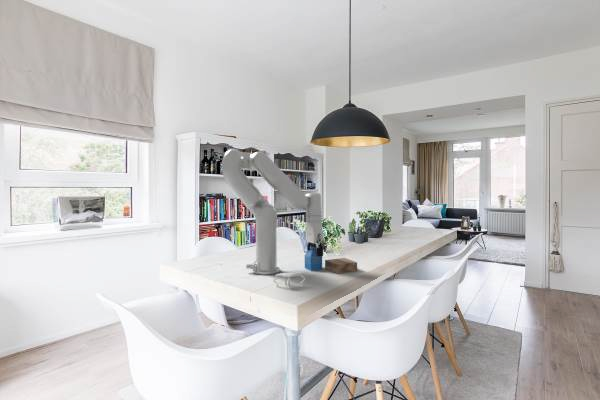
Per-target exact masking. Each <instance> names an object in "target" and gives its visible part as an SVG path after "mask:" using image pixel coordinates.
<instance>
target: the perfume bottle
mask: <svg viewBox="0 0 600 400" xmlns="http://www.w3.org/2000/svg"><path fill="white" fill-rule="evenodd" d="M305 268H306V269H305ZM304 269H305V270H307V271H310V272H313V271H321V270H323V256H319V257H318V256H317V245H316V243H315V244H313V243H312V244H310V250H309V251H306V253H305V254H304Z"/></svg>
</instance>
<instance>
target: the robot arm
mask: <svg viewBox="0 0 600 400" xmlns="http://www.w3.org/2000/svg"><path fill="white" fill-rule="evenodd" d="M243 170H244V171H256V172H257V173H258V174H259V175H260V176H261V177H262V178H263V180H264V181H265V182H267V184H268V185H269V186H270V187H271V188H272V189H274V190H276V191H277V192H279V193H280V194H281V195H282V196H283V197H284V198H285V199H286V200H287V201H288V202H287V203H288V204H289V206H290V207H291V208H293V209H295V210H299V211H302V210H305V221H306V222H305V241H306V245H307V246H306V248H307V251H309V250H310V244H312V243H313V244H316V246H317V249H316V250H317V256H318V257H319V256H322V257H323V256H324V246H325V238H324V235H323V234H324V233H323V231H324V230H323V225H322V222H323V217H322V216H323V214H322V212H323V211H322V196H321V194H320V192H309V193H304V192H303V191H302V189H300V187H299V186H298V185H297V184H296V183H295V182H294V181H292V180H291V179H290V178H289V176H287V175H286V174H285V173H284V172H283V170H282V169H280V167H278V165H277V164H276V163H275V162H274V161H273V160H272V158H271V157H269V156H268V155H267V154H266V153H265V152H264V151H260V150H259V151H255V152H247V151H246V152H245V151H240V150H239V149H236V148H230V149H228V150H227V151H226V152H225V153H224V154H223V157H222V161H221V173H222V176H223V178H224V180H225V182H226V183H227V184H228V185H229V187H230V188H231V189H232V191H233V192H234V193H235V194H236V195H237V196H238V198H239V199H240V201H241V203H242V204H243V205H244V206H245V207H246V208H247V209H248V211H249V212H250V213H251V214H252V215H253V216H254V218H255V261H253V262H252V263H247V264H245V269H246V270H252V273H254V274H256V275H274V274H275V275H276V274H279V273H280V272H281V267H279V266H277V263H278V260H277V251H278V249H277V248H278V247H277V225H278V224H277V223H278V212H277V209H276V208H275V206H273V205H272V204H271V203H270V202H269V201H268V200H267V199H266V198H265V197H264V196H263V195H262V194H261V192H260V190H259V189H258V187H257V186H255V185H254V184H253V182H251V180H250V179H249V178H248V177H247V175H246V174H245V173H244V172H243ZM307 251H306V252H307Z"/></svg>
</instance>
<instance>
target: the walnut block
mask: <svg viewBox="0 0 600 400" xmlns="http://www.w3.org/2000/svg"><path fill="white" fill-rule="evenodd" d="M324 269H326V270H328V271H330V272H333V273H335V274H345V273H351V272H353V273H354V272H357V271H358V262H357V261H355V260H351V259H349V258H346V257H340V258H339V257H338V258H333V259H330V258H329V259H325V260H324Z"/></svg>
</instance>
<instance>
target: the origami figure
mask: <svg viewBox="0 0 600 400" xmlns="http://www.w3.org/2000/svg"><path fill="white" fill-rule="evenodd" d="M297 276H300V277H301V278H302V279H303V280H302V281H301V282H300V283H299V285H300V286H301V287H302V286H303V285H302V283H303V282H305V281H306V280H307V279H306V278H305V276H304V275H303V274H302V273H301V272H282V273H275V276H274V278H273V282H274V283H275V284H276V285H275V286H276V287H278V285H279V284H278V282H276V280H277V278H279V277H283V280H284V285H287V286H288V288H287V289H288V290H290V289H291V278H293V277H297Z"/></svg>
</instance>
